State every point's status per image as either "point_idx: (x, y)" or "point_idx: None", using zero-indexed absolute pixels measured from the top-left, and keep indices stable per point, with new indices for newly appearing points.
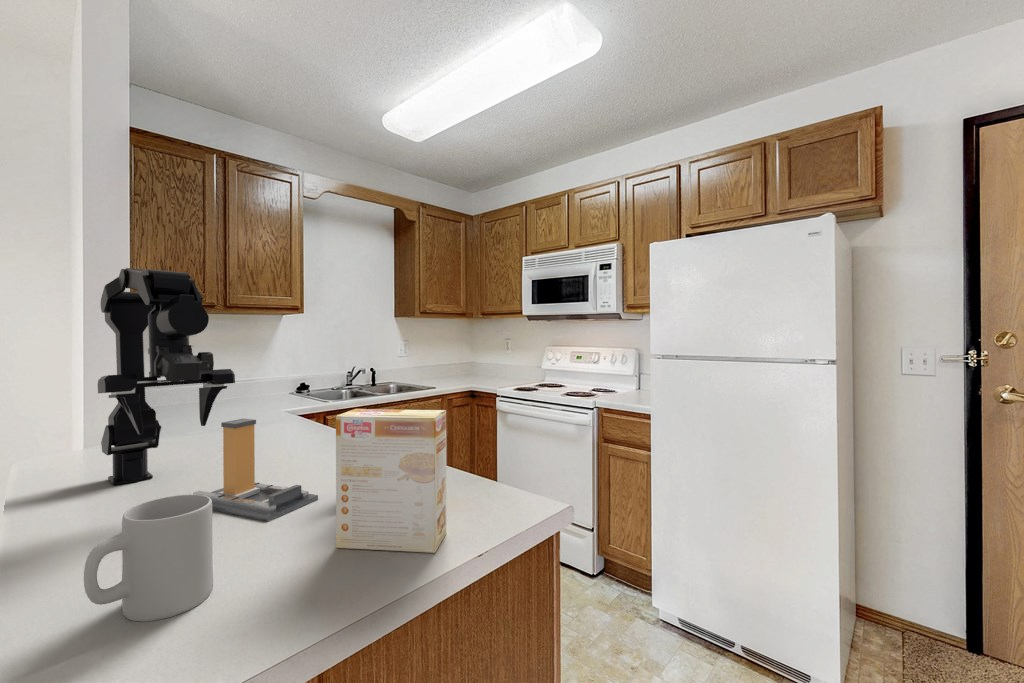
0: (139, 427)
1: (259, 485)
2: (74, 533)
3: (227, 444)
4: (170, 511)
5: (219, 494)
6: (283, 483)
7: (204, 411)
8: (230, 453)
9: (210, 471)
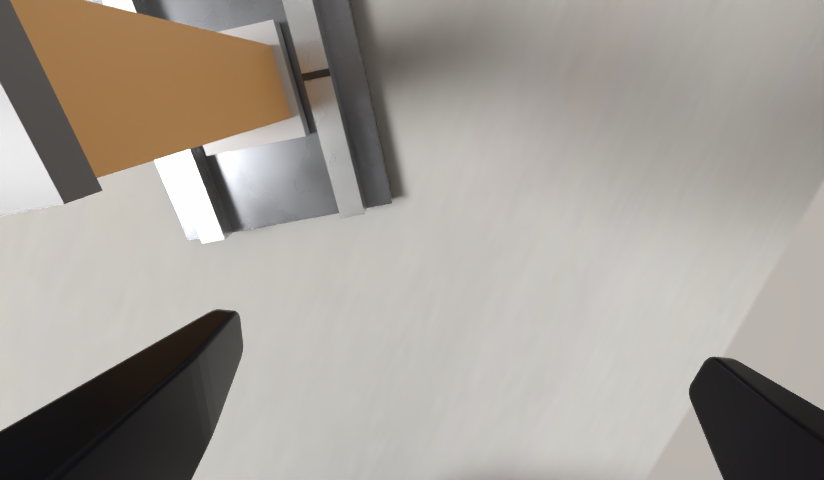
0: (786, 398)
1: None
2: (669, 219)
3: (167, 104)
4: None
5: (311, 104)
6: None
7: (134, 408)
8: (189, 72)
9: (216, 449)
